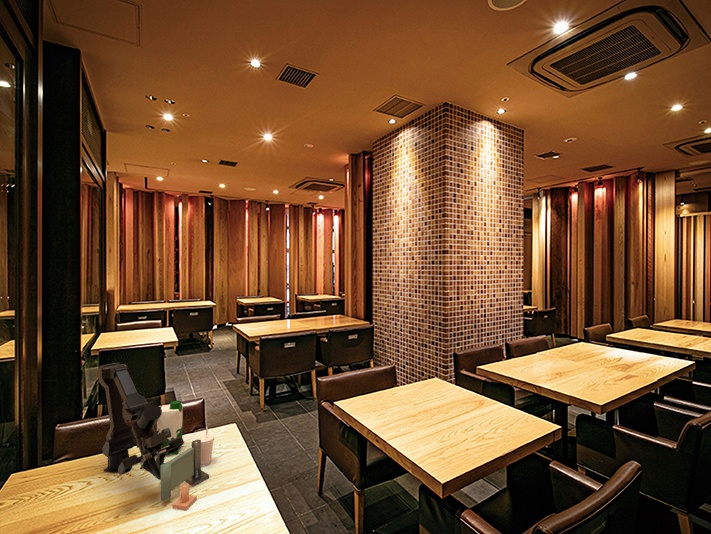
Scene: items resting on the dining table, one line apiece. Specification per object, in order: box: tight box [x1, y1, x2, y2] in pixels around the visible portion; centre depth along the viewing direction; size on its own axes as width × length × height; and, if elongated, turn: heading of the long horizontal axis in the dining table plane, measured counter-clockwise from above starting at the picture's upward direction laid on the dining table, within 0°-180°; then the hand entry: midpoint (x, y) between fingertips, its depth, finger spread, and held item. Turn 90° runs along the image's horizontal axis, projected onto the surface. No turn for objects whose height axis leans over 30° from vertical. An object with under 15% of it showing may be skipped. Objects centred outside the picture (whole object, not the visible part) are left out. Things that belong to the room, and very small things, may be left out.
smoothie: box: [196, 426, 215, 466], centre depth 133 cm, size 6×6×14 cm
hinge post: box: [184, 439, 210, 488], centre depth 123 cm, size 6×6×14 cm
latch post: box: [171, 482, 198, 511], centre depth 110 cm, size 5×5×6 cm
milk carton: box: [156, 400, 184, 457], centre depth 142 cm, size 9×9×20 cm
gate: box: [160, 447, 194, 502], centre depth 115 cm, size 12×3×10 cm, turn 161°
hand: (161, 479), depth 111 cm, fingers closed
